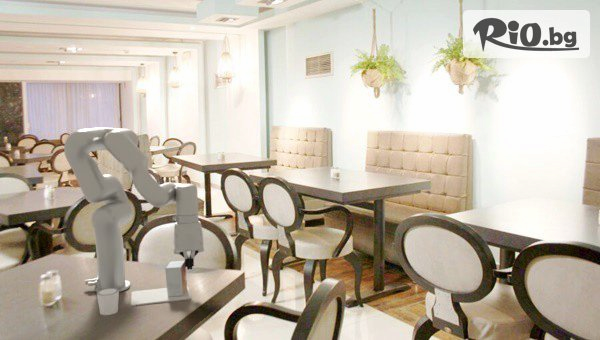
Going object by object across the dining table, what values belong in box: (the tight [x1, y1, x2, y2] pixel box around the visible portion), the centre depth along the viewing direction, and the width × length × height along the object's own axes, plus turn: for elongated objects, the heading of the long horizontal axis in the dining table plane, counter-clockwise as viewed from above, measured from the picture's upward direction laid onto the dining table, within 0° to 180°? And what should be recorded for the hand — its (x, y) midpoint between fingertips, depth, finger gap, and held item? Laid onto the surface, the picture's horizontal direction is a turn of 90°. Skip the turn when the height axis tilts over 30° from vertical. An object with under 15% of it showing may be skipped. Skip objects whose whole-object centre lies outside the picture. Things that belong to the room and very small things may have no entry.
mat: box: [130, 284, 192, 307], centre depth 187 cm, size 20×13×1 cm, turn 107°
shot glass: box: [96, 288, 120, 316], centre depth 173 cm, size 7×7×7 cm
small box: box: [164, 260, 188, 296], centre depth 188 cm, size 8×6×10 cm
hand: (189, 268), depth 189 cm, fingers closed
